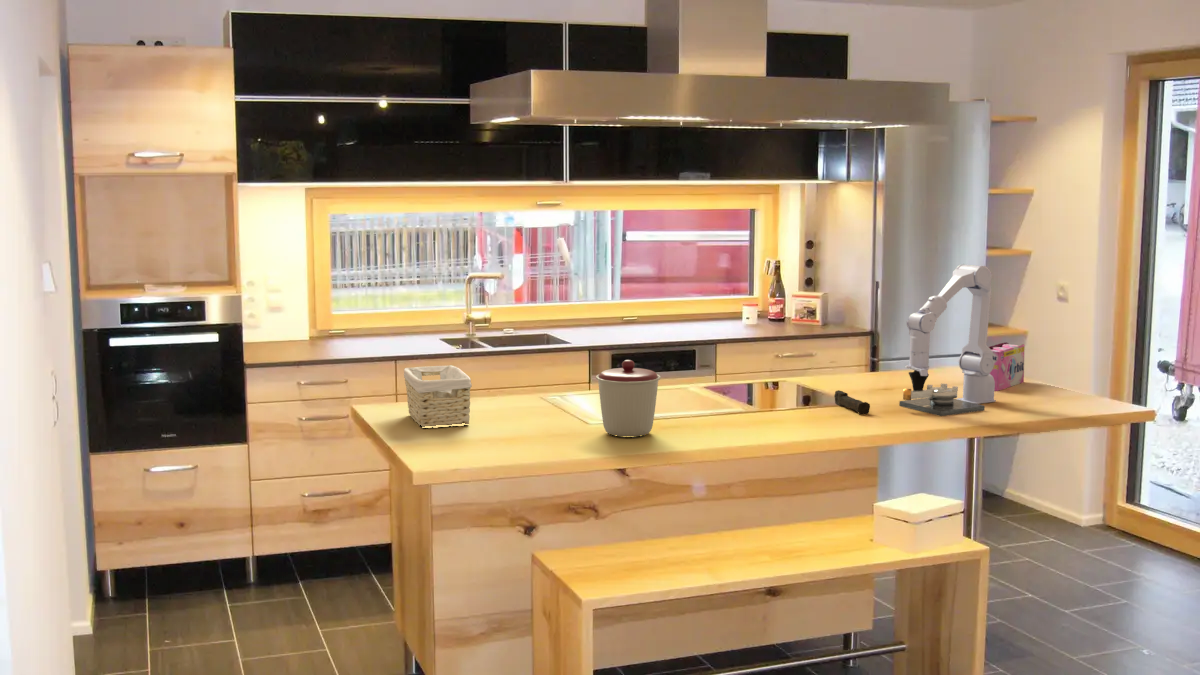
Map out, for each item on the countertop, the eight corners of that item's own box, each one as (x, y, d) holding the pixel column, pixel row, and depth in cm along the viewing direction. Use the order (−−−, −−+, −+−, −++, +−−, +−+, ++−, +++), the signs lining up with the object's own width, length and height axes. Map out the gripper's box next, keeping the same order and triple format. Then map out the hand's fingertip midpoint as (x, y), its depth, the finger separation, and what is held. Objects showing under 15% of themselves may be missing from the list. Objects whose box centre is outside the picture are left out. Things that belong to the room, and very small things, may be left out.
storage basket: (473, 427, 338) (473, 377, 336) (418, 431, 333) (416, 380, 331) (456, 411, 360) (455, 364, 358) (403, 415, 355) (402, 367, 353)
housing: (942, 400, 377) (942, 389, 376) (984, 410, 361) (984, 399, 360) (899, 405, 368) (899, 394, 368) (940, 416, 353) (941, 404, 352)
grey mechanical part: (944, 395, 370) (945, 382, 369) (963, 400, 362) (963, 387, 361) (894, 399, 363) (895, 386, 363) (912, 404, 355) (913, 391, 354)
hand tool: (870, 414, 356) (870, 399, 355) (858, 415, 355) (858, 400, 354) (843, 403, 374) (843, 389, 373) (831, 403, 373) (832, 389, 372)
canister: (656, 442, 318) (656, 366, 315) (590, 440, 321) (590, 364, 318) (663, 428, 336) (664, 355, 333) (601, 426, 339) (601, 354, 336)
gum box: (1003, 379, 416) (1005, 341, 414) (1025, 382, 411) (1027, 343, 409) (975, 388, 398) (976, 349, 396) (997, 391, 393) (999, 351, 391)
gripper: (901, 348, 368) (899, 390, 370) (911, 355, 354) (910, 399, 356) (923, 348, 368) (922, 390, 370) (935, 355, 354) (933, 399, 356)
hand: (917, 395), depth 363 cm, fingers closed, pressing on grey mechanical part
